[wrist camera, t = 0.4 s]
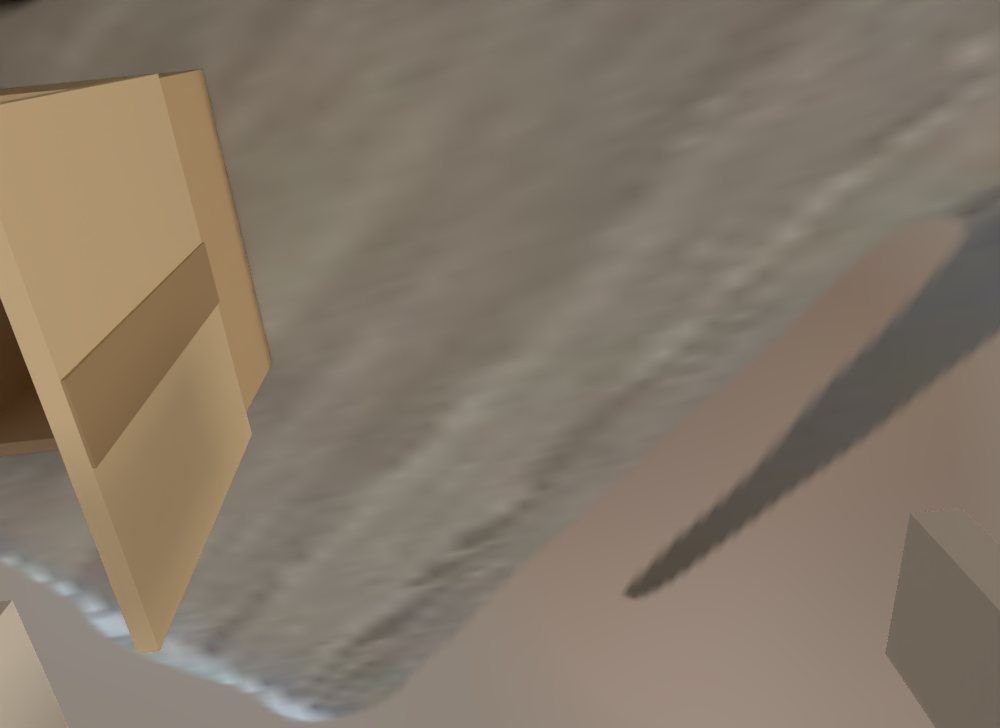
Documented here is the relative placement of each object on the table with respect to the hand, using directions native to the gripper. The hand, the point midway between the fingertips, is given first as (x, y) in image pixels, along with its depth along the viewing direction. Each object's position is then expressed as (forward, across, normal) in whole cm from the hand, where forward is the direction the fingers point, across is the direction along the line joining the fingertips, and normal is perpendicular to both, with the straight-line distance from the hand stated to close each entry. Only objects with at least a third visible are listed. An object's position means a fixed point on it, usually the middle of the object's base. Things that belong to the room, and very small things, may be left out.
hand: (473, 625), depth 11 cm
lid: (+14, -10, 0) cm, 17 cm away
